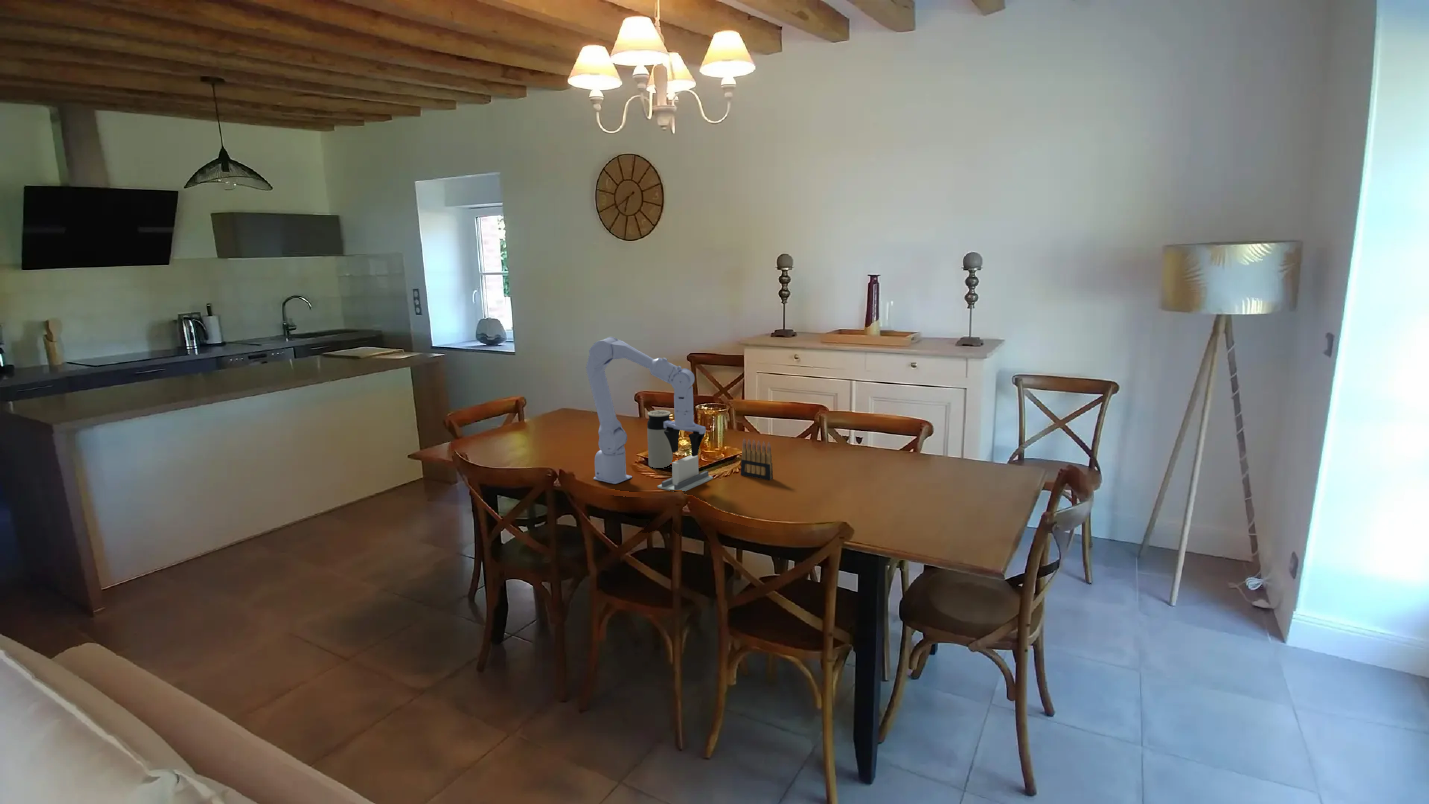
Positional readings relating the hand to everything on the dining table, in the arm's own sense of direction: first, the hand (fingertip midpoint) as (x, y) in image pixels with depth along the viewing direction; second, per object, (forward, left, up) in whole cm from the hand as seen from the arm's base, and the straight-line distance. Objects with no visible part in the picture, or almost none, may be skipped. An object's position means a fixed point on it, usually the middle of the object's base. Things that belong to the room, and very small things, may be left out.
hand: (684, 453), depth 221 cm
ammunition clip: (+15, +17, -10) cm, 25 cm away
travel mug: (-18, +10, -10) cm, 23 cm away
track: (0, 0, -9) cm, 9 cm away
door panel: (0, 0, -9) cm, 9 cm away
